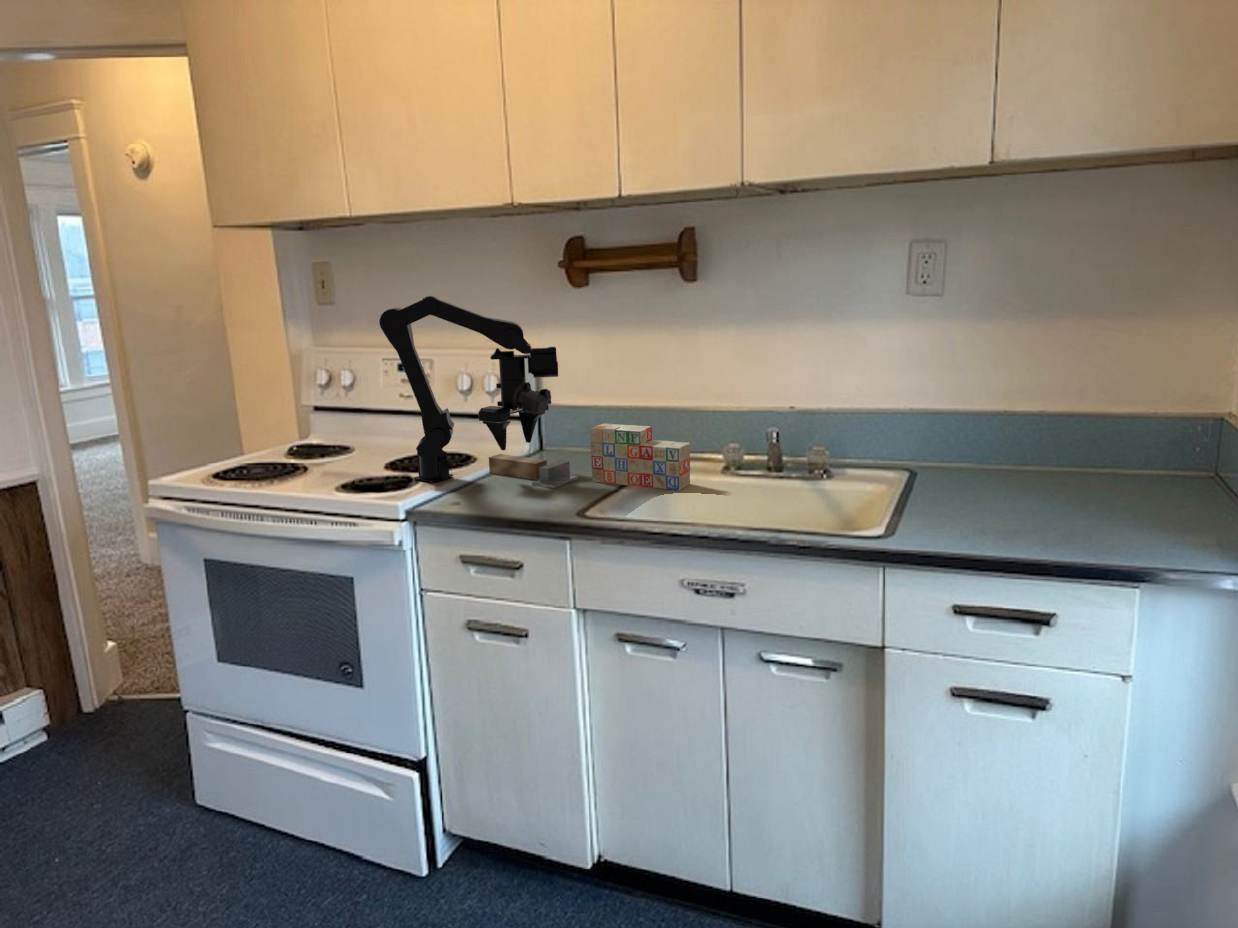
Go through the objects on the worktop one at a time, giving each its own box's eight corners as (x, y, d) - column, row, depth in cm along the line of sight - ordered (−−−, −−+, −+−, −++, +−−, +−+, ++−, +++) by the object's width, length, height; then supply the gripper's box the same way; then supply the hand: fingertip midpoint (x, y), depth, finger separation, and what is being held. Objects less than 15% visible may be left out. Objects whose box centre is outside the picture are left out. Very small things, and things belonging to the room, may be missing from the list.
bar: (489, 474, 203) (488, 457, 202) (501, 470, 206) (500, 453, 205) (536, 481, 195) (535, 463, 194) (547, 477, 198) (546, 460, 197)
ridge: (532, 485, 190) (531, 467, 189) (556, 476, 198) (555, 458, 197) (554, 488, 187) (553, 470, 186) (577, 478, 195) (577, 461, 194)
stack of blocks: (691, 484, 188) (690, 428, 185) (679, 491, 183) (678, 434, 180) (604, 475, 198) (603, 422, 195) (591, 481, 192) (589, 427, 190)
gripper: (515, 386, 183) (518, 458, 187) (565, 375, 199) (568, 441, 202) (474, 383, 189) (479, 453, 193) (527, 373, 204) (530, 437, 208)
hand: (516, 446), depth 199 cm, fingers open, 9 cm apart
